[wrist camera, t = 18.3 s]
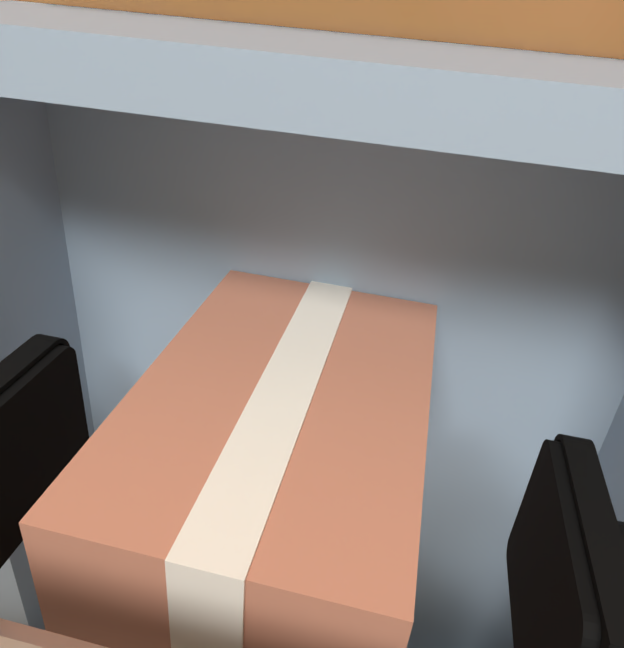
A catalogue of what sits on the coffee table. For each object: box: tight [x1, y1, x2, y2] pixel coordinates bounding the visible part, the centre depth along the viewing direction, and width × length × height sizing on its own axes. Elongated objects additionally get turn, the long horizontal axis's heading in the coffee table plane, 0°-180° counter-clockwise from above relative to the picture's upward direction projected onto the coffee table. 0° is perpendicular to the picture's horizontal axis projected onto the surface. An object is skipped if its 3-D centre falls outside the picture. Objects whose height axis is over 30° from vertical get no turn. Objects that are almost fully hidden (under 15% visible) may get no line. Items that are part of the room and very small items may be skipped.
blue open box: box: [0, 0, 624, 648], centre depth 15 cm, size 16×20×5 cm
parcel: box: [19, 270, 437, 648], centre depth 12 cm, size 5×5×8 cm
